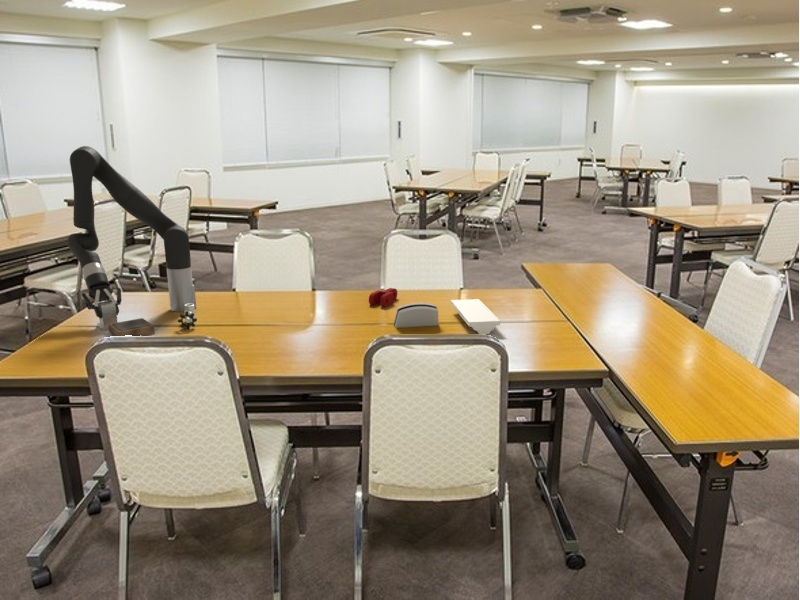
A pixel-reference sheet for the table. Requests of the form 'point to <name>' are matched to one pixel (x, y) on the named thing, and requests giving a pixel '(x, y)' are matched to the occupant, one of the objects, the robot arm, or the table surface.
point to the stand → (131, 328)
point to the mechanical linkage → (383, 297)
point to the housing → (107, 314)
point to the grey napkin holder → (416, 315)
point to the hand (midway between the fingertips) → (108, 315)
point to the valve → (188, 316)
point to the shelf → (476, 315)
